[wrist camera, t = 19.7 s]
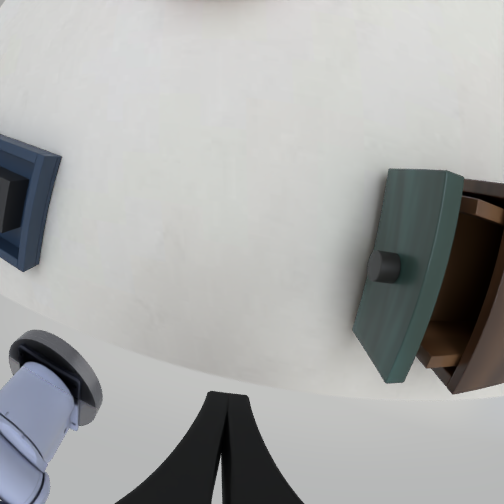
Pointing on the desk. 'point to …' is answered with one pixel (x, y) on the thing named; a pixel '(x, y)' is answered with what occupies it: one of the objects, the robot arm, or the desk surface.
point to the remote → (11, 199)
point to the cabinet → (482, 317)
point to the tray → (28, 200)
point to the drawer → (426, 272)
